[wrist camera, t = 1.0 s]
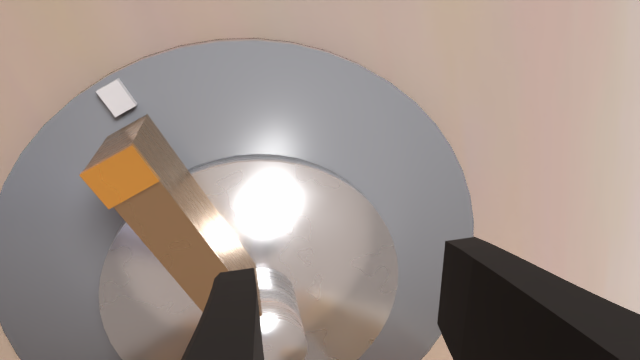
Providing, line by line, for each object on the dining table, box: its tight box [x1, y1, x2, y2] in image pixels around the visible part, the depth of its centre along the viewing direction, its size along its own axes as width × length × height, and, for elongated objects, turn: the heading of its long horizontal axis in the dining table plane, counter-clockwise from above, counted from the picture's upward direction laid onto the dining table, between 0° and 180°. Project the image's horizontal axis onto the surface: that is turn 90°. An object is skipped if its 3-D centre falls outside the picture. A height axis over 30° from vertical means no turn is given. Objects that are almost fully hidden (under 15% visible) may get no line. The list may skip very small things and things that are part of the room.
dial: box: [79, 114, 398, 360], centre depth 17 cm, size 14×12×4 cm
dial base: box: [0, 38, 474, 360], centre depth 20 cm, size 20×20×1 cm
